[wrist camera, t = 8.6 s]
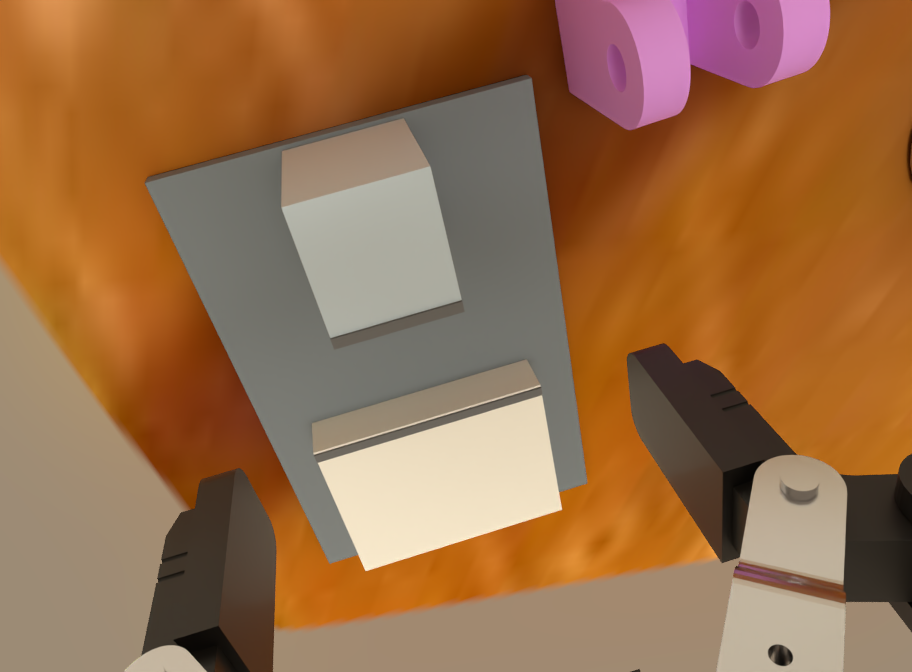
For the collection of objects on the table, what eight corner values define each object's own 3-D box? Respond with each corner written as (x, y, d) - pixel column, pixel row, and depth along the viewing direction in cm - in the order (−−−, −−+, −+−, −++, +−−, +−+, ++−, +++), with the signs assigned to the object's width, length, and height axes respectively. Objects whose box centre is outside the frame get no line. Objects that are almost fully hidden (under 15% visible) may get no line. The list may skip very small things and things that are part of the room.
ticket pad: (526, 74, 25) (550, 91, 23) (583, 475, 37) (602, 512, 34) (147, 177, 24) (133, 204, 22) (329, 554, 36) (332, 597, 34)
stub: (403, 118, 24) (430, 167, 20) (434, 243, 27) (464, 311, 22) (282, 151, 24) (281, 208, 19) (325, 274, 27) (334, 349, 22)
